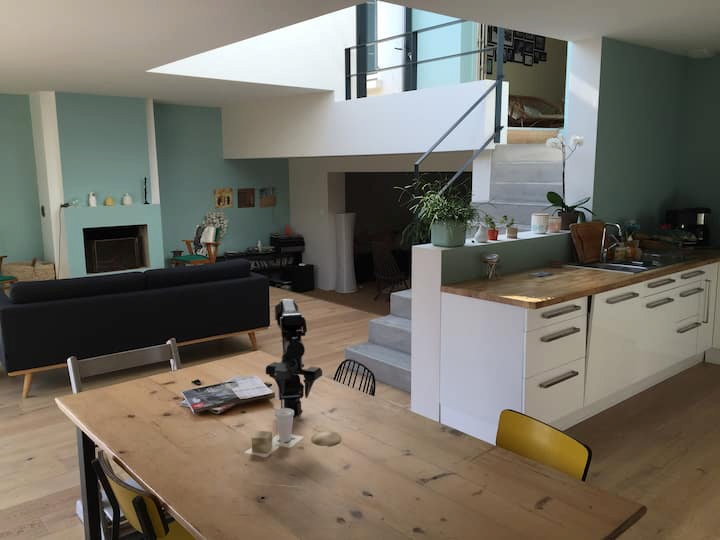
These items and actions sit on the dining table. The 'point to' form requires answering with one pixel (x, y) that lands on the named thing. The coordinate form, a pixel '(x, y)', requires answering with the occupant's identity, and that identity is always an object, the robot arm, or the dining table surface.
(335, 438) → the coaster
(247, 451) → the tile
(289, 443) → the tile
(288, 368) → the robot arm
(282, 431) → the smoothie
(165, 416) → the dining table surface
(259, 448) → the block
